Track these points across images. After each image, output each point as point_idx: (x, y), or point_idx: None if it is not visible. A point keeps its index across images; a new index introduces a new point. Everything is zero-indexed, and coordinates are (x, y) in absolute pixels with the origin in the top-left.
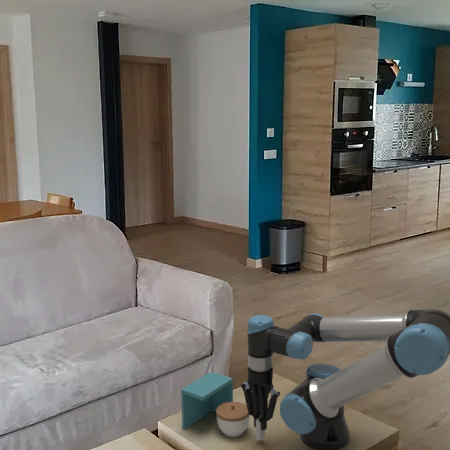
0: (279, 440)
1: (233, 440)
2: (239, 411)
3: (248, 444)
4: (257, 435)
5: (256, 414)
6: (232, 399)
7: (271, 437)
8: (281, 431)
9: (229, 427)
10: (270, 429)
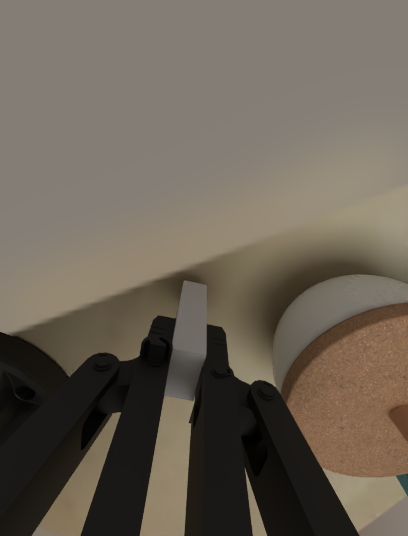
0: (125, 327)
1: (312, 261)
2: (349, 404)
3: (236, 257)
4: (197, 293)
5: (203, 391)
6: (405, 485)
7: None
8: None
9: (365, 284)
10: None
